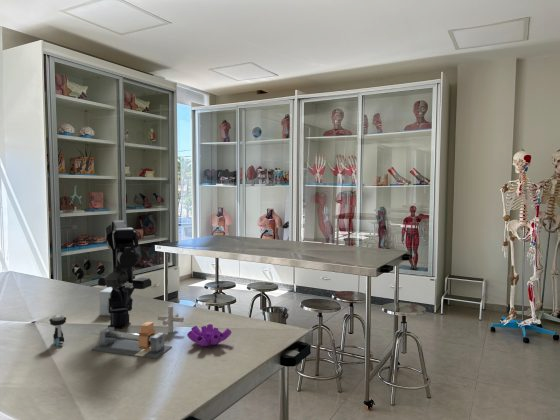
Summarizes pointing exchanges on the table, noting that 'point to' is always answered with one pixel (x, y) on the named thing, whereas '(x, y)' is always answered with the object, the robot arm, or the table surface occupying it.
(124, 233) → the robot arm
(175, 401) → the table surface
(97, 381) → the table surface
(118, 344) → the grey base plate
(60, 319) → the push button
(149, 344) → the collar
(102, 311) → the skincare box
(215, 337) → the purple tube cluster
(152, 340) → the linear slide rail
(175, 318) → the pipe connector
